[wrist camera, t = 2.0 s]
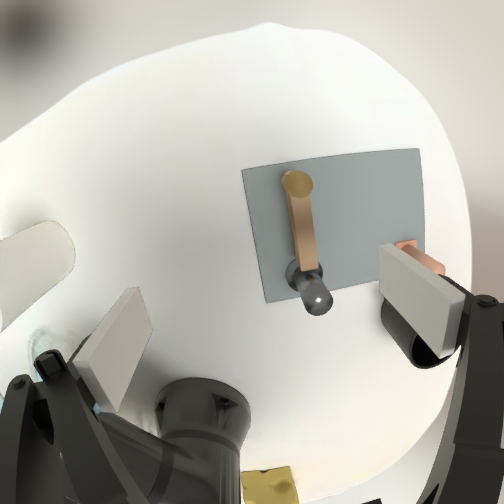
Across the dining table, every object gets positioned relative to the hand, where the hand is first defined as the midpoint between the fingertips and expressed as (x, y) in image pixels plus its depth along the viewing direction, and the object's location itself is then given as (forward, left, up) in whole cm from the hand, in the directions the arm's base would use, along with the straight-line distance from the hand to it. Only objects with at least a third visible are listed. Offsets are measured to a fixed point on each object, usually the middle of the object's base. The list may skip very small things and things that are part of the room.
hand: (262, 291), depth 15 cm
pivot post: (+5, -8, -19) cm, 21 cm away
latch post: (+19, -8, -19) cm, 28 cm away
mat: (+11, -3, -19) cm, 22 cm away
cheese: (-6, -56, -19) cm, 59 cm away
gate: (+5, 0, -17) cm, 18 cm away
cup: (-27, +1, -19) cm, 33 cm away
